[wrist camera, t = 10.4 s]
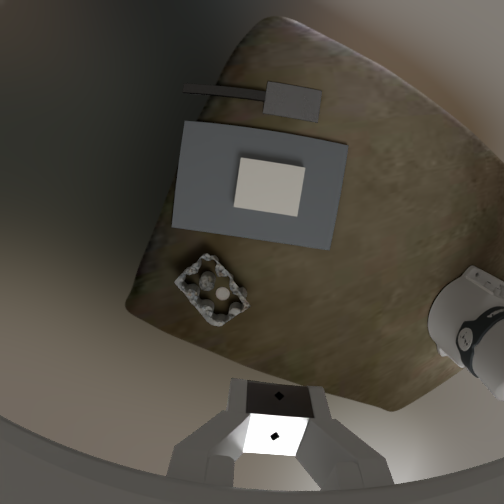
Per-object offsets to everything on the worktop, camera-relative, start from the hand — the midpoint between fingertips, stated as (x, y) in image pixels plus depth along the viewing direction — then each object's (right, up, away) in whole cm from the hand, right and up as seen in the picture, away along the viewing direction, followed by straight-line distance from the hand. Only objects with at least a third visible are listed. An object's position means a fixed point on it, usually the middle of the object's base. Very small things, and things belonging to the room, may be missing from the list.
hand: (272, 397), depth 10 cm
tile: (-3, +15, +35) cm, 38 cm away
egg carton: (-7, -1, +41) cm, 42 cm away
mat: (0, +14, +37) cm, 39 cm away
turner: (-1, +27, +33) cm, 43 cm away
